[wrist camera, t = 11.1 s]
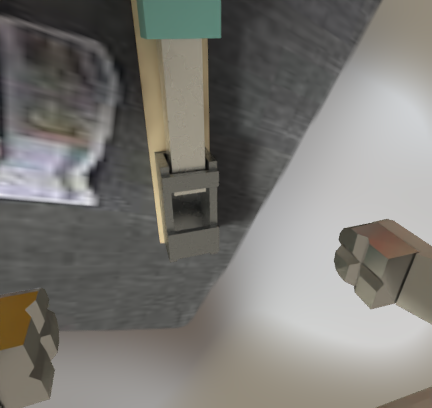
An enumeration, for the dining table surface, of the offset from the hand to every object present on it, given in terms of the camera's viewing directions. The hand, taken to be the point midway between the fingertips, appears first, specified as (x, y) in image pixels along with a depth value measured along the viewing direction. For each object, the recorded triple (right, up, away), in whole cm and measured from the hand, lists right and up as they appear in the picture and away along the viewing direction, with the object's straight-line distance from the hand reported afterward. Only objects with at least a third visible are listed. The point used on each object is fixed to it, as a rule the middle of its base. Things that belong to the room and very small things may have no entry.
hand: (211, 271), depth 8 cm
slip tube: (-4, +14, +28) cm, 32 cm away
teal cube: (-5, +23, +25) cm, 34 cm away
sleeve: (-5, +3, +36) cm, 37 cm away
